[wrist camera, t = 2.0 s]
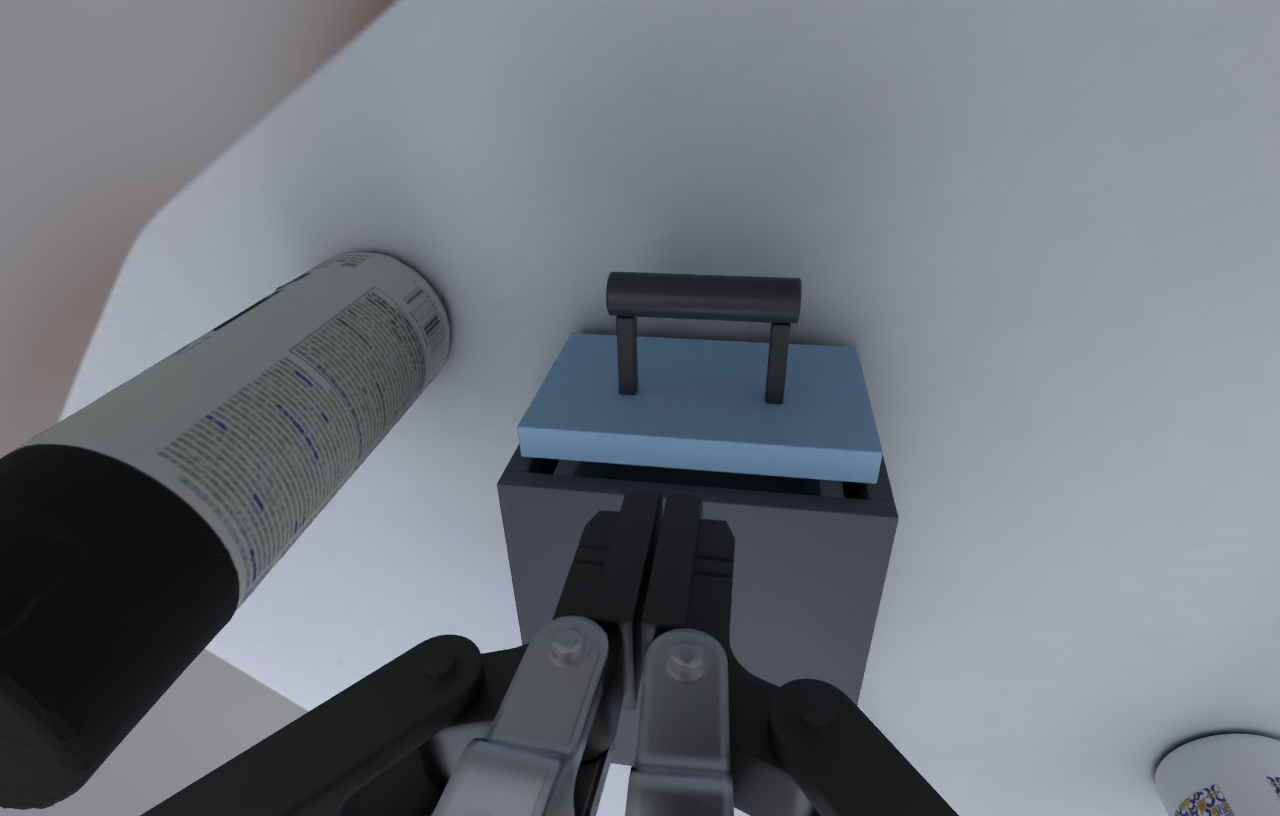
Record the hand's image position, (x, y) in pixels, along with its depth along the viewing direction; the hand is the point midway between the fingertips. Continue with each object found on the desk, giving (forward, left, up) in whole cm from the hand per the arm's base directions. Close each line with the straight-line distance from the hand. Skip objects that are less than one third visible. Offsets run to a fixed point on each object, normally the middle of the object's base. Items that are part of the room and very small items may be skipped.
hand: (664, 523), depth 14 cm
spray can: (+2, -14, -15) cm, 21 cm away
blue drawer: (+7, 0, -14) cm, 16 cm away
